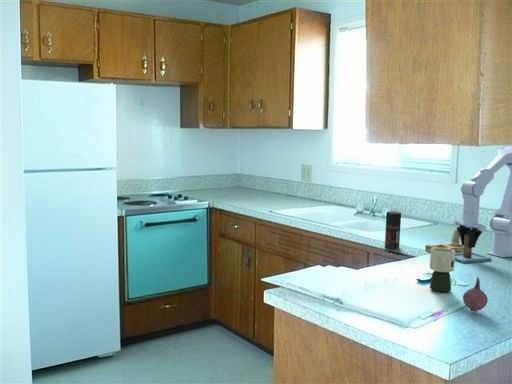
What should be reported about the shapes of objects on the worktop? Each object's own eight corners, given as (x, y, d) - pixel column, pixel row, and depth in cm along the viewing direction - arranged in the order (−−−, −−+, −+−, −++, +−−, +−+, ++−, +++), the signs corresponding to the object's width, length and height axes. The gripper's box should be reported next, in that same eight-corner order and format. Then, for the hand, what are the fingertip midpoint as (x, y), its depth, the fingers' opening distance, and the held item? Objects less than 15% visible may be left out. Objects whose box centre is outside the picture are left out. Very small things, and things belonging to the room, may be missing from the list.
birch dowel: (455, 250, 223) (456, 229, 222) (460, 251, 221) (461, 230, 220) (449, 250, 222) (451, 229, 221) (454, 252, 220) (456, 230, 218)
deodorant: (388, 245, 229) (390, 211, 227) (401, 247, 225) (403, 212, 224) (382, 247, 225) (384, 212, 223) (395, 250, 221) (397, 214, 219)
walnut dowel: (467, 256, 210) (468, 233, 210) (473, 257, 208) (474, 235, 207) (461, 256, 209) (462, 234, 208) (467, 258, 207) (468, 235, 206)
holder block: (455, 248, 227) (455, 242, 226) (469, 252, 219) (470, 246, 219) (425, 250, 221) (425, 245, 220) (438, 255, 213) (439, 249, 213)
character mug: (454, 297, 160) (457, 254, 158) (429, 294, 161) (432, 252, 160) (450, 286, 170) (452, 246, 169) (426, 284, 172) (429, 245, 170)
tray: (471, 254, 216) (471, 251, 216) (490, 260, 207) (491, 257, 207) (444, 257, 210) (444, 254, 210) (462, 263, 201) (463, 260, 201)
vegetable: (490, 316, 144) (493, 280, 143) (468, 316, 143) (471, 280, 142) (479, 308, 150) (482, 274, 149) (458, 308, 149) (460, 274, 148)
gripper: (449, 209, 211) (446, 243, 213) (477, 215, 198) (474, 251, 200) (463, 208, 214) (460, 241, 216) (491, 214, 201) (488, 249, 203)
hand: (468, 246), depth 208 cm, fingers open, 3 cm apart
